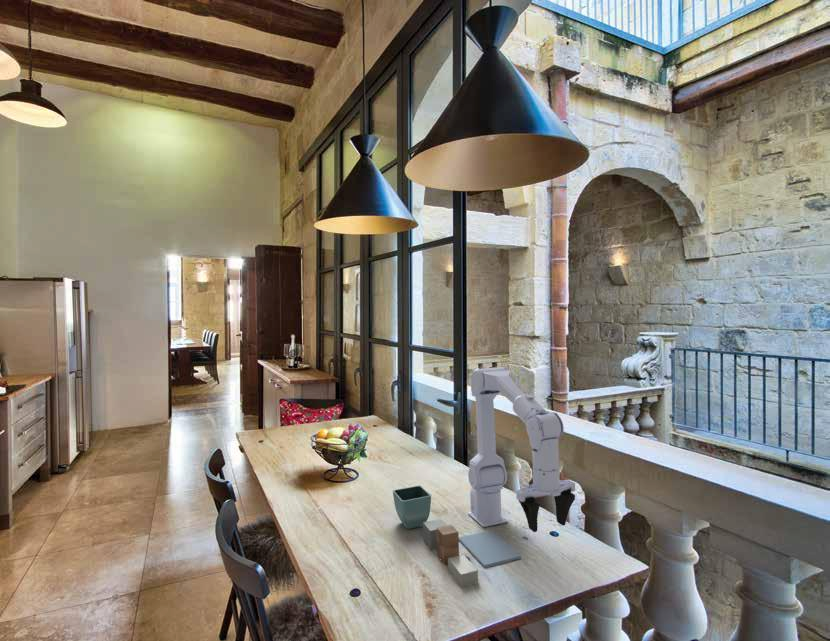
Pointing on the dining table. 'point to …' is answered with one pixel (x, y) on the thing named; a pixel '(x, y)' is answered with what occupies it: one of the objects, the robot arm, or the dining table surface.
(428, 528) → the grey cube
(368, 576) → the dining table surface
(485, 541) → the slate mat
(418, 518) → the flower pot
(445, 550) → the tall walnut block
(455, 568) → the pale grey block
